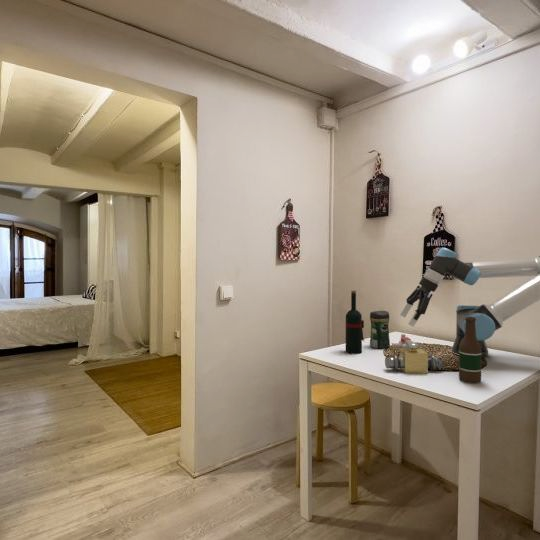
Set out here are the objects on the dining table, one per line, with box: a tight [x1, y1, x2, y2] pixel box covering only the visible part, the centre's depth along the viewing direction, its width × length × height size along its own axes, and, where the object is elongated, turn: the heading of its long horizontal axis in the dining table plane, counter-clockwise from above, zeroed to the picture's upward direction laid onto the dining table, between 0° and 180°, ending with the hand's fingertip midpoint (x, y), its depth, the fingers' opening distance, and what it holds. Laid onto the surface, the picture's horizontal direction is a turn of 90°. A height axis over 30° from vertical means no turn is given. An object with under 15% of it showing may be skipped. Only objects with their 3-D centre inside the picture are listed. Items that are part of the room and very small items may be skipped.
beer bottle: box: [458, 317, 483, 384], centre depth 143 cm, size 8×8×24 cm
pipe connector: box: [391, 333, 409, 349], centre depth 177 cm, size 10×10×10 cm
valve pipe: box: [384, 348, 444, 374], centre depth 156 cm, size 22×7×9 cm, turn 88°
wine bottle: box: [345, 290, 366, 355], centre depth 185 cm, size 8×10×30 cm
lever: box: [400, 336, 420, 349], centre depth 160 cm, size 14×4×2 cm, turn 178°
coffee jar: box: [369, 310, 391, 349], centre depth 194 cm, size 10×8×19 cm
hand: (406, 320), depth 174 cm, fingers open, 13 cm apart
